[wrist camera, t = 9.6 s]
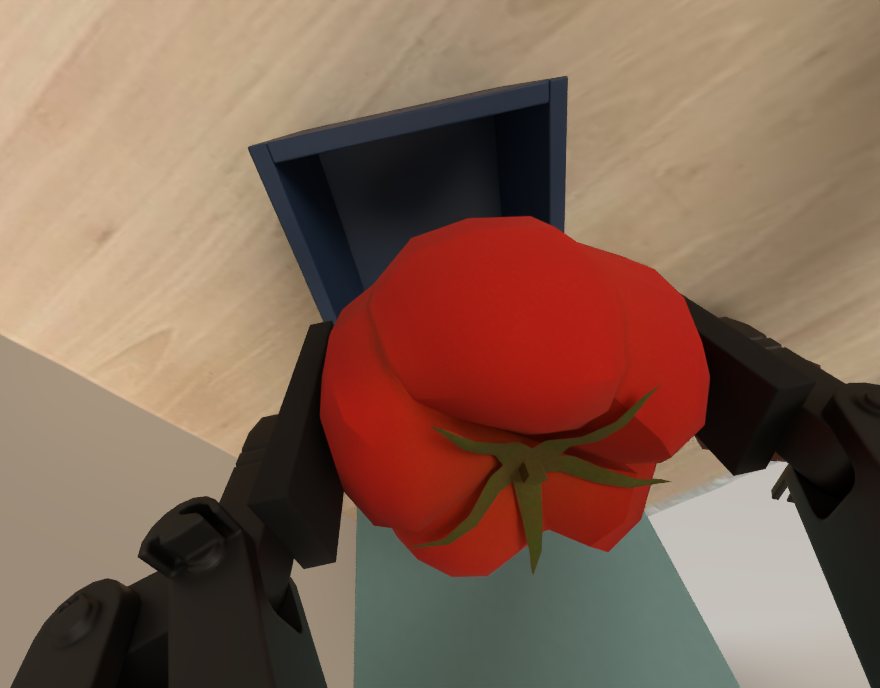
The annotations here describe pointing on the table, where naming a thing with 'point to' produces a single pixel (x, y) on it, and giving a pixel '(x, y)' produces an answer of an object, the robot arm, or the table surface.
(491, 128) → the chest
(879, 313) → the table surface
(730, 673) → the chest lid
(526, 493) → the tomato
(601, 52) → the table surface
